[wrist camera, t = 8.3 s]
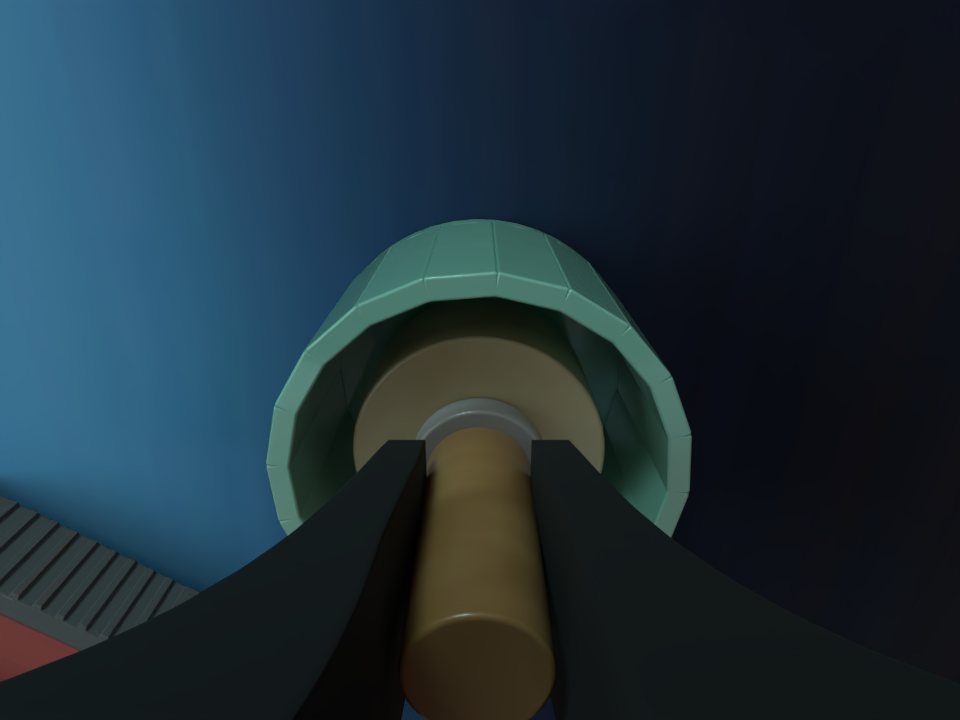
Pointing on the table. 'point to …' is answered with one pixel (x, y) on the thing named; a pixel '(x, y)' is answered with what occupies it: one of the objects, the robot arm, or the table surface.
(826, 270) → the table surface
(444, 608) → the rubber stamp
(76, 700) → the robot arm
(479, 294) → the bucket
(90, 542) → the red grey blocky piece
